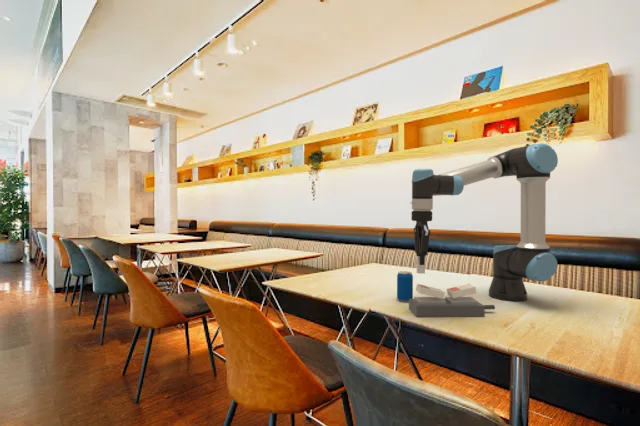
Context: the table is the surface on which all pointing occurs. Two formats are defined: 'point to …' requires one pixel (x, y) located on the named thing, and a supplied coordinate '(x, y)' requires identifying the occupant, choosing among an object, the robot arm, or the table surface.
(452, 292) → the rocker
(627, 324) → the table surface
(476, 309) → the power strip
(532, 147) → the robot arm
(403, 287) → the beverage can
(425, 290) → the rocker
